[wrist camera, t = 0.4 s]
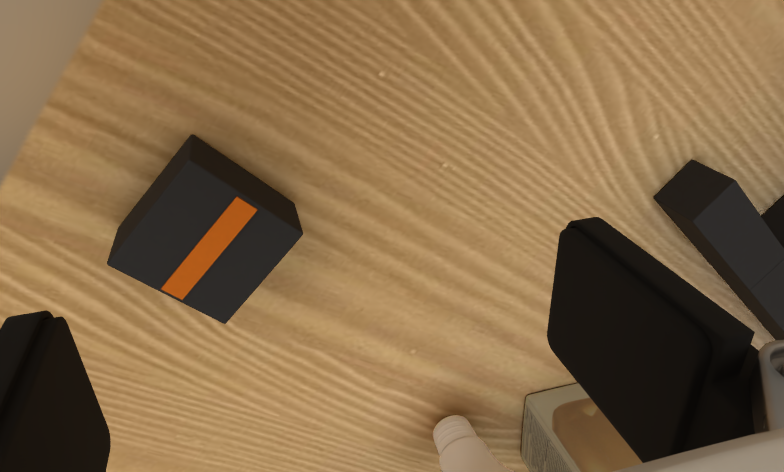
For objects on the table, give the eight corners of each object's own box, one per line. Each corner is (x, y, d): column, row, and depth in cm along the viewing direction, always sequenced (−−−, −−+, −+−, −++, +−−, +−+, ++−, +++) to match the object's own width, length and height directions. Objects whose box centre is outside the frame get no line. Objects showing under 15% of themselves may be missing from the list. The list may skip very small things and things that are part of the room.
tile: (192, 132, 24) (188, 159, 21) (295, 203, 27) (304, 235, 24) (117, 228, 25) (105, 266, 22) (224, 286, 28) (225, 326, 25)
